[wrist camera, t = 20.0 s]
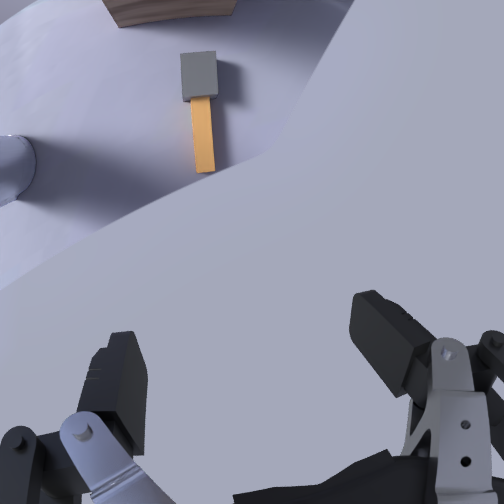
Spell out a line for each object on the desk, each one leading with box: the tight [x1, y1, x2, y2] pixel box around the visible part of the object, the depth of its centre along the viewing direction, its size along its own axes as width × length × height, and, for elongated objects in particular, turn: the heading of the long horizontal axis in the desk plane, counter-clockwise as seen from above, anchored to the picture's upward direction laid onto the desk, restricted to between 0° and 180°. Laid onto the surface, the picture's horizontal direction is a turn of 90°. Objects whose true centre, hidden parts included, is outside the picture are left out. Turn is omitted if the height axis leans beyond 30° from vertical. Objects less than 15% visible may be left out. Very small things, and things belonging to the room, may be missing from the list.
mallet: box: [180, 51, 218, 173], centre depth 35 cm, size 16×4×4 cm, turn 4°
